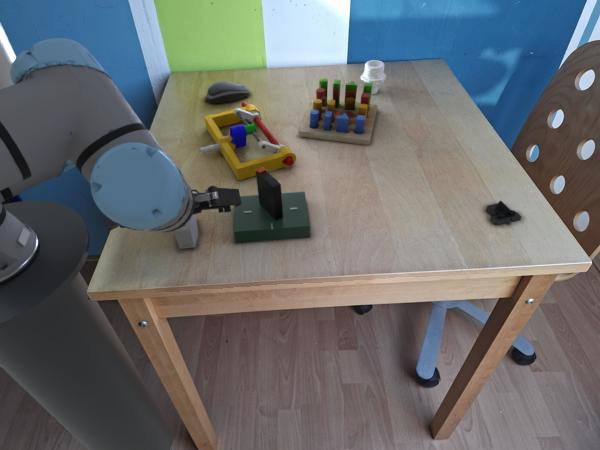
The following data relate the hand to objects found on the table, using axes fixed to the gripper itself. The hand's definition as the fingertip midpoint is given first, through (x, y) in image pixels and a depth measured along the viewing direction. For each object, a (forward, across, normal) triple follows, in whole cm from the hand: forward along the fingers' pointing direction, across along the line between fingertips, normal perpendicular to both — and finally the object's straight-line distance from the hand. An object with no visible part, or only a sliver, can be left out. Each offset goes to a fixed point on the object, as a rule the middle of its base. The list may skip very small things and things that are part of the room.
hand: (179, 212), depth 72 cm
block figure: (+1, -60, +12) cm, 61 cm away
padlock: (+9, 0, +4) cm, 10 cm away
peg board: (+30, -41, -18) cm, 54 cm away
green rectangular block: (+8, -16, +4) cm, 18 cm away
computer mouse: (+46, -15, -34) cm, 59 cm away
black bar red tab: (+6, -16, +2) cm, 17 cm away
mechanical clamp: (+29, -14, -16) cm, 36 cm away
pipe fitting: (+40, -55, -27) cm, 73 cm away
